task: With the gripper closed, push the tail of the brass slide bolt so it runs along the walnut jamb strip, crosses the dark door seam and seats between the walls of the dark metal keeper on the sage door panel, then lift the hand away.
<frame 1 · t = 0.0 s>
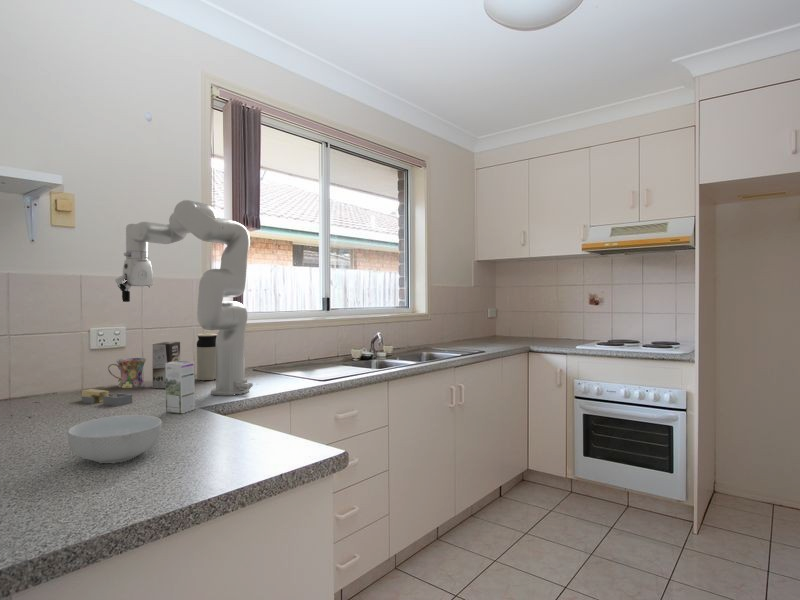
hand: (137, 301, 187), 31 cm above the countertop, tool pointing down, fingers open, 9 cm apart
latch bolt: (95, 395, 151), point 3 cm above the countertop, slide at 0.0 cm
door board: (107, 406, 149), on the countertop
coffee box: (166, 386, 182), on the countertop
mug: (127, 389, 175), on the countertop
cereal bowl: (116, 458, 103), on the countertop
travel mug: (207, 379, 196), on the countertop
syrup box: (180, 412, 143), on the countertop
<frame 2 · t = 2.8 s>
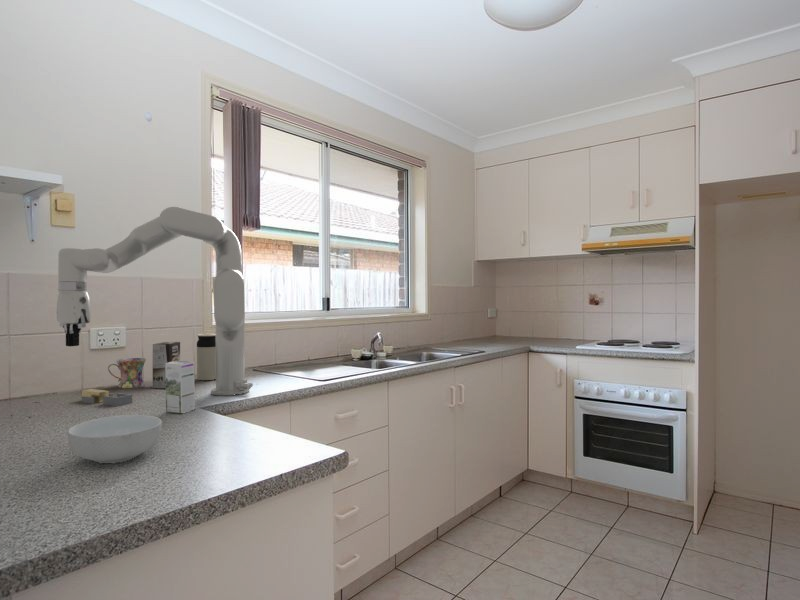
hand: (72, 345, 155), 18 cm above the countertop, tool pointing down, fingers closed
nothing on the countertop moved.
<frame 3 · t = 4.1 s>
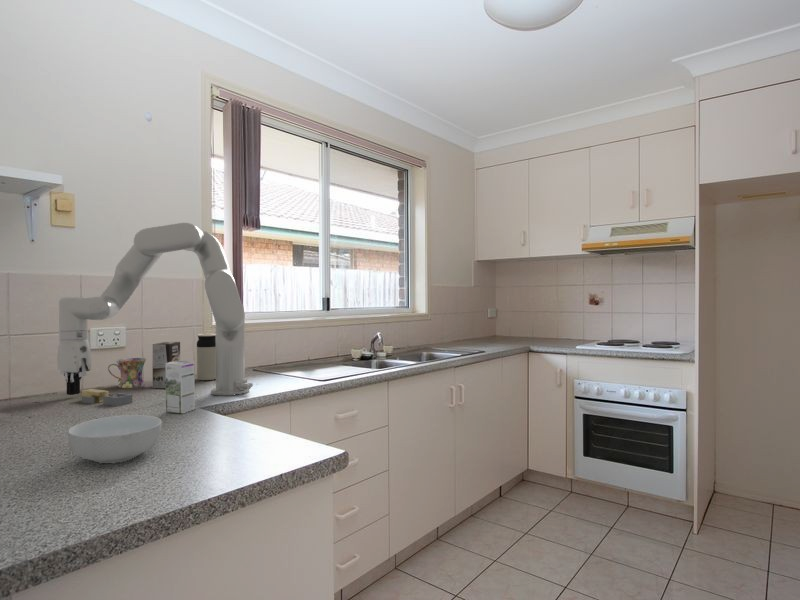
hand: (73, 393, 155), 2 cm above the countertop, tool pointing down, fingers closed
nothing on the countertop moved.
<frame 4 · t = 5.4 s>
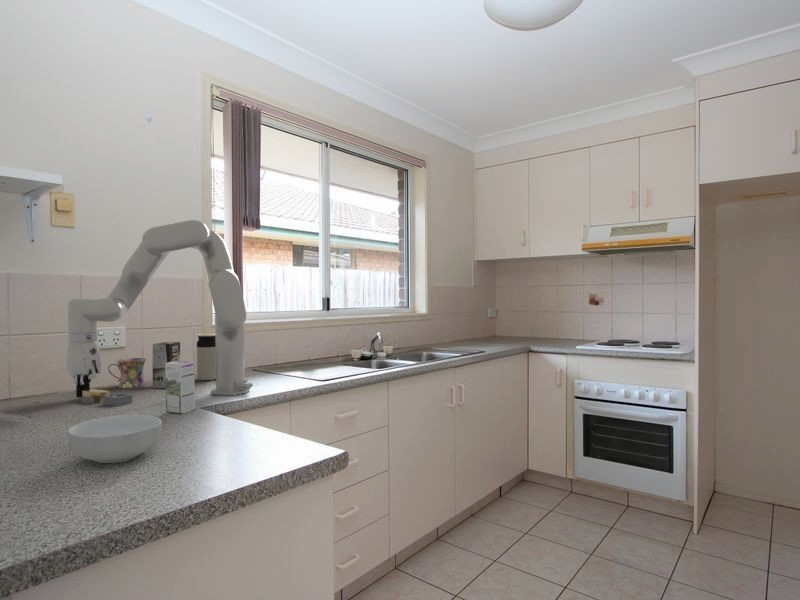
hand: (83, 396, 153), 2 cm above the countertop, tool pointing down, fingers closed
latch bolt: (95, 395, 151), point 3 cm above the countertop, slide at 0.3 cm, touching gripper
everything else where it was.
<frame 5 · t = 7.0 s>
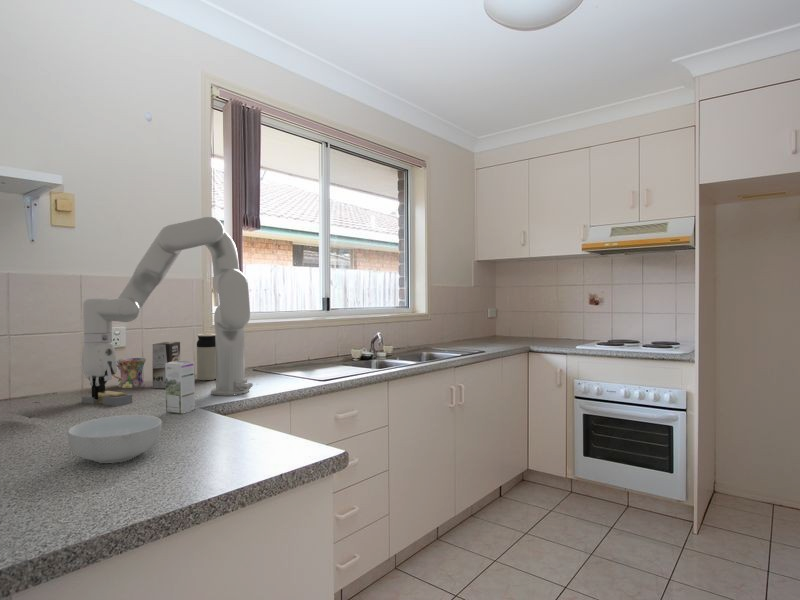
hand: (98, 398, 151), 2 cm above the countertop, tool pointing down, fingers closed
latch bolt: (111, 397, 148), point 3 cm above the countertop, slide at 7.4 cm, touching gripper
everything else where it was.
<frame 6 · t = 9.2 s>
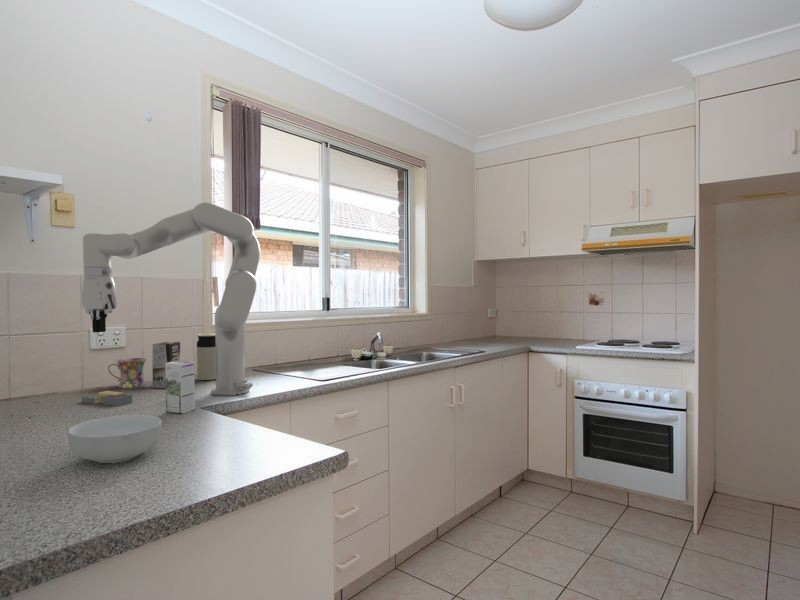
hand: (99, 331, 154), 22 cm above the countertop, tool pointing down, fingers closed
latch bolt: (111, 397, 148), point 3 cm above the countertop, slide at 7.4 cm
everything else where it was.
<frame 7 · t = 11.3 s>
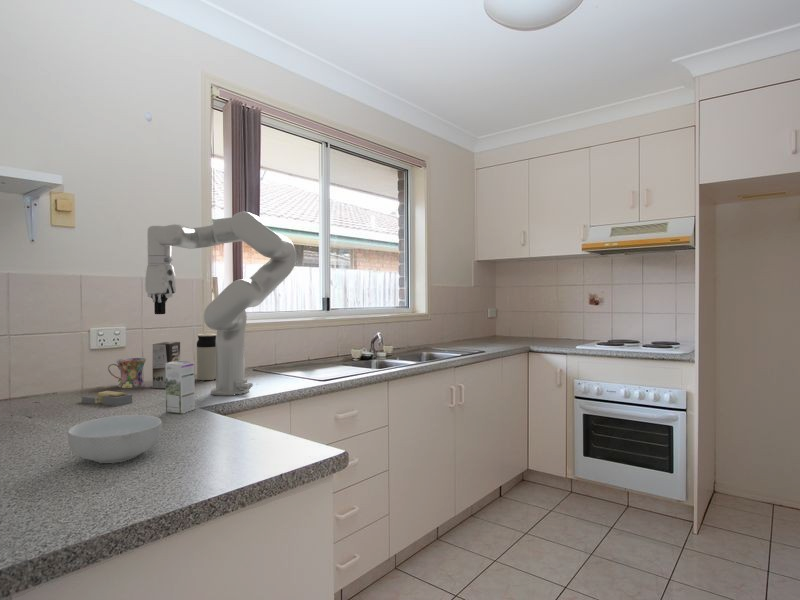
hand: (160, 314, 171), 27 cm above the countertop, tool pointing down, fingers closed
nothing on the countertop moved.
at the end: latch bolt slide at 7.4 cm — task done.
